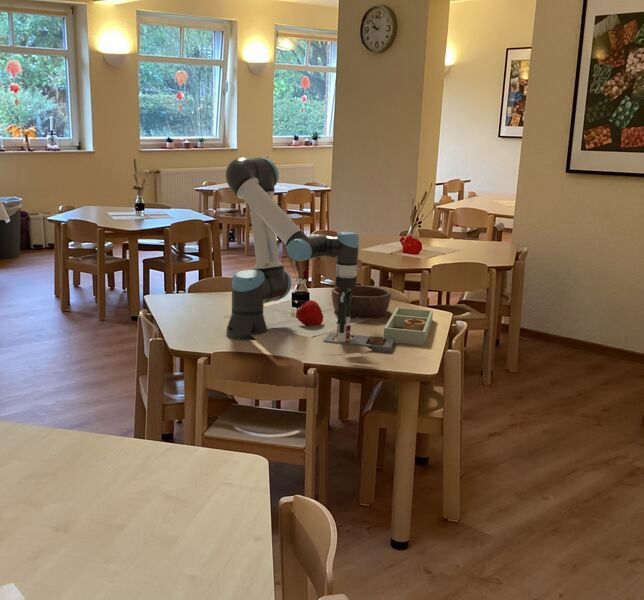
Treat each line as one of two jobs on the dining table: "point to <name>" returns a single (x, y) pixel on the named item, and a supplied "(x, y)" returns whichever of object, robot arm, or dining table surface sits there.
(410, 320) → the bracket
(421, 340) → the parts crate
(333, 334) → the grey slotted plate
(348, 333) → the pill bottle
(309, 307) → the red rounded tapered piece
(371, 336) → the walnut block
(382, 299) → the wooden bowl
